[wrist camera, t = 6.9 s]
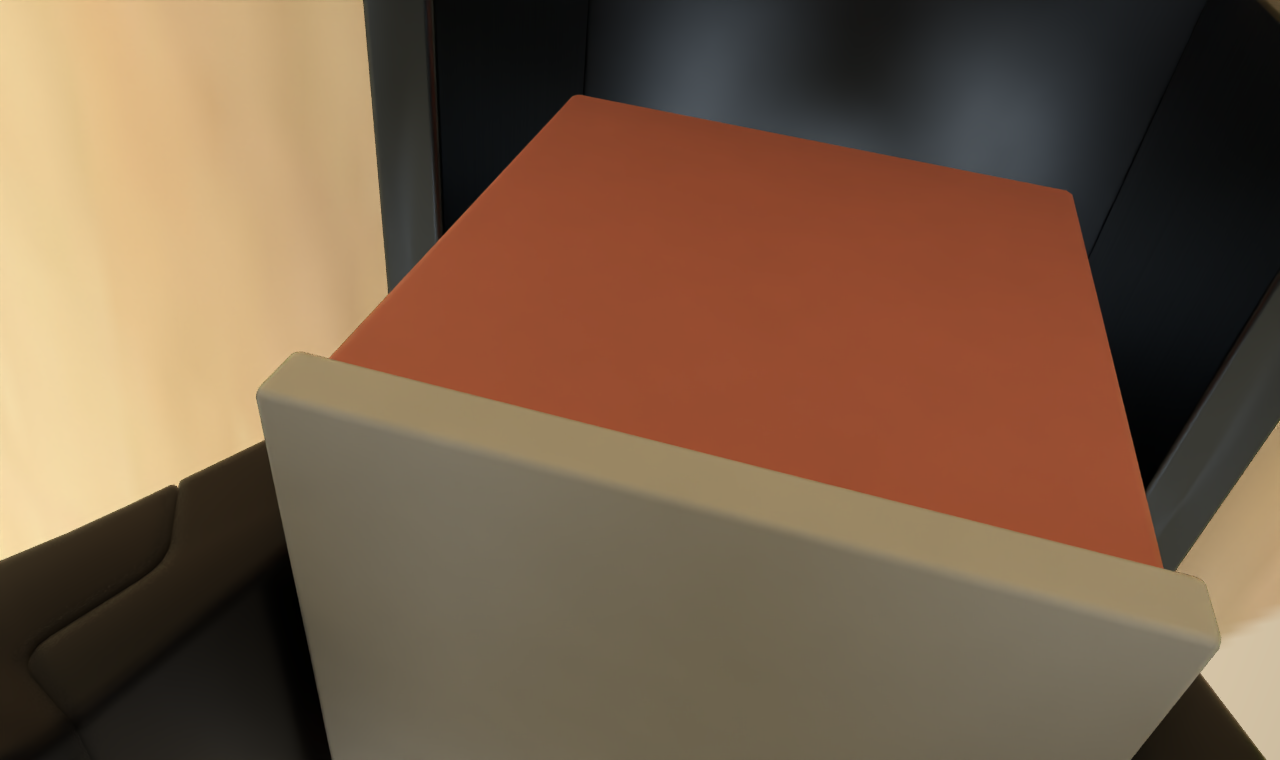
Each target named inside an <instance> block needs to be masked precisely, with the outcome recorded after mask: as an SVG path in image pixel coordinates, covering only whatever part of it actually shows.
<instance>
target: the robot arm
mask: <svg viewBox="0 0 1280 760" xmlns="http://www.w3.org/2000/svg"><path fill="white" fill-rule="evenodd" d="M0 760H332V759H331V754H330V749H329V744H328V740H327V735H326V730H325V725H324V720H323V716H322V711H321V706H320V701H319V696H318V692H317V687H316V682H315V677H314V672H313V668H312V663H311V658H310V653H309V648H308V644H307V639H306V634H305V629H304V624H303V620H302V615H301V610H300V605H299V600H298V596H297V591H296V586H295V581H294V576H293V572H292V567H291V562H290V557H289V553H288V548H287V543H286V538H285V533H284V529H283V524H282V519H281V514H280V509H279V505H278V500H277V495H276V490H275V485H274V481H273V476H272V471H271V466H270V461H269V457H268V452H267V447H266V442H265V440H264V441H262V442H260V443H258V444H255V445H253V446H251V447H249V448H247V449H245V450H243V451H241V452H239V453H237V454H235V455H233V456H231V457H228V458H226V459H224V460H222V461H220V462H218V463H216V464H214V465H212V466H210V467H208V468H206V469H204V470H201V471H199V472H197V473H195V474H193V475H191V476H189V477H187V478H185V479H183V480H181V481H180V483H179V486H178V487H177V486H175V485H170V486H168V487H165V488H163V489H161V490H159V491H157V492H155V493H153V494H151V495H149V496H147V497H145V498H143V499H140V500H138V501H136V502H134V503H132V504H130V505H128V506H126V507H123V508H121V509H119V510H117V511H115V512H112V513H110V514H108V515H106V516H104V517H102V518H99V519H97V520H95V521H93V522H91V523H88V524H86V525H84V526H82V527H80V528H77V529H75V530H73V531H71V532H69V533H66V534H64V535H62V536H59V537H57V538H54V539H52V540H49V541H47V542H45V543H42V544H40V545H37V546H35V547H33V548H30V549H28V550H25V551H23V552H21V553H18V554H16V555H13V556H11V557H8V558H6V559H4V560H1V561H0ZM1131 760H1266V759H1265V757H1264V756H1263V755H1262V754H1261V752H1260V751H1259V750H1258V748H1257V747H1256V746H1255V744H1254V743H1253V742H1252V740H1251V739H1250V738H1249V737H1248V735H1247V734H1246V733H1245V731H1244V730H1243V729H1242V727H1241V726H1240V725H1239V723H1238V722H1237V721H1236V719H1235V718H1234V717H1233V716H1232V714H1231V713H1230V712H1229V710H1228V709H1227V708H1226V706H1225V705H1224V704H1223V702H1222V701H1221V700H1220V699H1219V697H1218V696H1217V695H1216V693H1215V692H1214V691H1213V689H1212V688H1211V687H1210V685H1209V684H1208V683H1207V681H1206V680H1205V679H1204V677H1203V676H1202V675H1201V674H1200V673H1199V675H1198V676H1197V677H1196V678H1195V680H1194V681H1193V682H1192V683H1191V685H1190V686H1189V687H1188V688H1187V690H1186V691H1185V692H1184V694H1183V695H1182V696H1181V697H1180V699H1179V700H1178V701H1177V702H1176V704H1175V705H1174V706H1173V707H1172V709H1171V710H1170V711H1169V712H1168V714H1167V715H1166V716H1165V717H1164V719H1163V720H1162V721H1161V722H1160V724H1159V725H1158V726H1157V727H1156V729H1155V730H1154V731H1153V732H1152V734H1151V735H1150V736H1149V737H1148V739H1147V740H1146V741H1145V742H1144V744H1143V745H1142V746H1141V747H1140V749H1139V750H1138V751H1137V752H1136V754H1135V755H1134V756H1133V758H1132V759H1131Z"/></svg>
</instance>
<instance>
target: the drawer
mask: <svg viewBox="0 0 1280 760" xmlns="http://www.w3.org/2000/svg"><path fill="white" fill-rule="evenodd" d="M363 4H364V16H365V28H366V39H367V51H368V62H369V74H370V86H371V97H372V109H373V121H374V132H375V144H376V156H377V167H378V179H379V190H380V202H381V214H382V225H383V237H384V249H385V260H386V272H387V284H388V294H389V293H390V292H391V291H392V290H393V289H394V288H395V287H396V286H397V285H398V283H399V282H400V281H401V280H402V279H403V278H404V277H405V276H406V275H407V274H408V273H409V272H410V271H411V269H412V268H413V267H414V266H415V265H416V264H417V263H418V262H419V261H420V260H421V259H422V258H423V257H424V255H425V254H426V253H427V252H428V251H429V250H430V249H431V248H432V247H433V246H434V245H435V244H436V243H437V241H438V240H439V239H440V238H441V237H442V236H443V235H444V234H445V233H446V232H447V231H448V230H449V229H450V227H451V226H452V225H453V224H454V223H455V222H456V221H457V220H458V219H459V218H460V217H461V216H462V215H463V214H464V212H465V211H466V210H467V209H468V208H469V207H470V206H471V205H472V204H473V203H474V202H475V201H476V200H477V198H478V197H479V196H480V195H481V194H482V193H483V192H484V191H485V190H486V189H487V188H488V187H489V186H490V184H491V183H492V182H493V181H494V180H495V179H496V178H497V177H498V176H499V175H500V174H501V173H502V172H503V170H504V169H505V168H506V167H507V166H508V165H509V164H510V163H511V162H512V161H513V160H514V159H515V158H516V156H517V155H518V154H519V153H520V152H521V151H522V150H523V149H524V148H525V147H526V146H527V145H528V144H529V142H530V141H531V140H532V139H533V138H534V137H535V136H536V135H537V134H538V133H539V132H540V131H541V130H542V128H543V127H544V126H545V125H546V124H547V123H548V122H549V121H550V120H551V119H552V118H553V117H554V116H555V114H556V113H557V112H558V111H559V110H560V109H561V108H562V107H563V106H564V105H565V104H566V103H567V102H568V100H569V99H570V98H571V97H572V96H575V95H584V96H589V97H594V98H599V99H604V100H609V101H614V102H619V103H624V104H629V105H634V106H640V107H645V108H650V109H655V110H660V111H665V112H670V113H675V114H680V115H685V116H690V117H695V118H701V119H706V120H711V121H716V122H721V123H726V124H731V125H736V126H741V127H746V128H751V129H756V130H761V131H767V132H772V133H777V134H782V135H787V136H792V137H797V138H802V139H807V140H812V141H817V142H822V143H827V144H833V145H838V146H843V147H848V148H853V149H858V150H863V151H868V152H873V153H878V154H883V155H888V156H893V157H899V158H904V159H909V160H914V161H919V162H924V163H929V164H934V165H939V166H944V167H949V168H954V169H959V170H965V171H970V172H975V173H980V174H985V175H990V176H995V177H1000V178H1005V179H1010V180H1015V181H1020V182H1026V183H1031V184H1036V185H1041V186H1046V187H1051V188H1056V189H1061V190H1066V191H1068V192H1069V193H1071V194H1072V195H1073V199H1074V203H1075V208H1076V212H1077V216H1078V220H1079V224H1080V228H1081V232H1082V236H1083V240H1084V244H1085V248H1086V253H1087V257H1088V261H1089V265H1090V269H1091V273H1092V277H1093V281H1094V285H1095V289H1096V293H1097V298H1098V302H1099V306H1100V310H1101V314H1102V318H1103V322H1104V326H1105V330H1106V334H1107V339H1108V343H1109V347H1110V351H1111V355H1112V359H1113V363H1114V367H1115V371H1116V375H1117V379H1118V384H1119V388H1120V392H1121V396H1122V400H1123V404H1124V408H1125V412H1126V416H1127V420H1128V425H1129V429H1130V433H1131V437H1132V441H1133V445H1134V449H1135V453H1136V457H1137V461H1138V465H1139V470H1140V474H1141V478H1142V482H1143V486H1144V490H1145V494H1146V498H1147V502H1148V506H1149V510H1150V515H1151V519H1152V523H1153V527H1154V531H1155V535H1156V539H1157V543H1158V547H1159V551H1160V556H1161V560H1162V564H1163V568H1164V569H1166V570H1170V571H1174V572H1175V571H1176V569H1177V568H1178V566H1179V565H1180V563H1181V562H1182V560H1183V559H1184V558H1185V556H1186V555H1187V553H1188V552H1189V550H1190V549H1191V547H1192V546H1193V545H1194V543H1195V542H1196V540H1197V539H1198V537H1199V536H1200V534H1201V533H1202V532H1203V530H1204V529H1205V527H1206V526H1207V524H1208V523H1209V521H1210V520H1211V519H1212V517H1213V516H1214V514H1215V513H1216V511H1217V510H1218V509H1219V507H1220V506H1221V504H1222V503H1223V501H1224V500H1225V498H1226V497H1227V496H1228V494H1229V493H1230V491H1231V490H1232V488H1233V487H1234V485H1235V484H1236V483H1237V481H1238V480H1239V478H1240V477H1241V475H1242V474H1243V472H1244V471H1245V470H1246V468H1247V467H1248V465H1249V464H1250V462H1251V461H1252V459H1253V458H1254V457H1255V455H1256V454H1257V452H1258V451H1259V449H1260V448H1261V447H1262V445H1263V444H1264V442H1265V441H1266V439H1267V438H1268V436H1269V435H1270V434H1271V432H1272V431H1273V429H1274V428H1275V426H1276V425H1277V423H1278V422H1279V421H1280V0H363Z"/></svg>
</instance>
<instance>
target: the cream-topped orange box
mask: <svg viewBox="0 0 1280 760" xmlns="http://www.w3.org/2000/svg"><path fill="white" fill-rule="evenodd" d="M256 399H257V404H258V409H259V413H260V418H261V423H262V428H263V433H264V437H265V442H266V447H267V452H268V457H269V461H270V466H271V471H272V476H273V481H274V485H275V490H276V495H277V500H278V505H279V509H280V514H281V519H282V524H283V529H284V533H285V538H286V543H287V548H288V553H289V557H290V562H291V567H292V572H293V576H294V581H295V586H296V591H297V596H298V600H299V605H300V610H301V615H302V620H303V624H304V629H305V634H306V639H307V644H308V648H309V653H310V658H311V663H312V668H313V672H314V677H315V682H316V687H317V692H318V696H319V701H320V706H321V711H322V716H323V720H324V725H325V730H326V735H327V740H328V744H329V749H330V754H331V759H332V760H1131V759H1132V758H1133V756H1134V755H1135V754H1136V752H1137V751H1138V750H1139V749H1140V747H1141V746H1142V745H1143V744H1144V742H1145V741H1146V740H1147V739H1148V737H1149V736H1150V735H1151V734H1152V732H1153V731H1154V730H1155V729H1156V727H1157V726H1158V725H1159V724H1160V722H1161V721H1162V720H1163V719H1164V717H1165V716H1166V715H1167V714H1168V712H1169V711H1170V710H1171V709H1172V707H1173V706H1174V705H1175V704H1176V702H1177V701H1178V700H1179V699H1180V697H1181V696H1182V695H1183V694H1184V692H1185V691H1186V690H1187V688H1188V687H1189V686H1190V685H1191V683H1192V682H1193V681H1194V680H1195V678H1196V677H1197V676H1198V675H1199V673H1200V672H1201V671H1202V670H1203V668H1204V667H1205V666H1206V665H1207V663H1208V662H1209V661H1210V660H1211V658H1212V657H1213V656H1214V655H1215V653H1216V652H1217V651H1218V650H1219V647H1220V644H1221V636H1220V632H1219V629H1218V625H1217V622H1216V618H1215V615H1214V611H1213V608H1212V604H1211V601H1210V597H1209V594H1208V590H1207V587H1206V584H1205V583H1204V582H1203V581H1202V580H1200V579H1199V578H1197V577H1194V576H1190V575H1186V574H1182V573H1178V572H1174V571H1170V570H1166V569H1164V568H1163V564H1162V560H1161V556H1160V551H1159V547H1158V543H1157V539H1156V535H1155V531H1154V527H1153V523H1152V519H1151V515H1150V510H1149V506H1148V502H1147V498H1146V494H1145V490H1144V486H1143V482H1142V478H1141V474H1140V470H1139V465H1138V461H1137V457H1136V453H1135V449H1134V445H1133V441H1132V437H1131V433H1130V429H1129V425H1128V420H1127V416H1126V412H1125V408H1124V404H1123V400H1122V396H1121V392H1120V388H1119V384H1118V379H1117V375H1116V371H1115V367H1114V363H1113V359H1112V355H1111V351H1110V347H1109V343H1108V339H1107V334H1106V330H1105V326H1104V322H1103V318H1102V314H1101V310H1100V306H1099V302H1098V298H1097V293H1096V289H1095V285H1094V281H1093V277H1092V273H1091V269H1090V265H1089V261H1088V257H1087V253H1086V248H1085V244H1084V240H1083V236H1082V232H1081V228H1080V224H1079V220H1078V216H1077V212H1076V208H1075V203H1074V199H1073V195H1072V194H1071V193H1069V192H1068V191H1066V190H1061V189H1056V188H1051V187H1046V186H1041V185H1036V184H1031V183H1026V182H1020V181H1015V180H1010V179H1005V178H1000V177H995V176H990V175H985V174H980V173H975V172H970V171H965V170H959V169H954V168H949V167H944V166H939V165H934V164H929V163H924V162H919V161H914V160H909V159H904V158H899V157H893V156H888V155H883V154H878V153H873V152H868V151H863V150H858V149H853V148H848V147H843V146H838V145H833V144H827V143H822V142H817V141H812V140H807V139H802V138H797V137H792V136H787V135H782V134H777V133H772V132H767V131H761V130H756V129H751V128H746V127H741V126H736V125H731V124H726V123H721V122H716V121H711V120H706V119H701V118H695V117H690V116H685V115H680V114H675V113H670V112H665V111H660V110H655V109H650V108H645V107H640V106H634V105H629V104H624V103H619V102H614V101H609V100H604V99H599V98H594V97H589V96H584V95H575V96H572V97H571V98H570V99H569V100H568V102H567V103H566V104H565V105H564V106H563V107H562V108H561V109H560V110H559V111H558V112H557V113H556V114H555V116H554V117H553V118H552V119H551V120H550V121H549V122H548V123H547V124H546V125H545V126H544V127H543V128H542V130H541V131H540V132H539V133H538V134H537V135H536V136H535V137H534V138H533V139H532V140H531V141H530V142H529V144H528V145H527V146H526V147H525V148H524V149H523V150H522V151H521V152H520V153H519V154H518V155H517V156H516V158H515V159H514V160H513V161H512V162H511V163H510V164H509V165H508V166H507V167H506V168H505V169H504V170H503V172H502V173H501V174H500V175H499V176H498V177H497V178H496V179H495V180H494V181H493V182H492V183H491V184H490V186H489V187H488V188H487V189H486V190H485V191H484V192H483V193H482V194H481V195H480V196H479V197H478V198H477V200H476V201H475V202H474V203H473V204H472V205H471V206H470V207H469V208H468V209H467V210H466V211H465V212H464V214H463V215H462V216H461V217H460V218H459V219H458V220H457V221H456V222H455V223H454V224H453V225H452V226H451V227H450V229H449V230H448V231H447V232H446V233H445V234H444V235H443V236H442V237H441V238H440V239H439V240H438V241H437V243H436V244H435V245H434V246H433V247H432V248H431V249H430V250H429V251H428V252H427V253H426V254H425V255H424V257H423V258H422V259H421V260H420V261H419V262H418V263H417V264H416V265H415V266H414V267H413V268H412V269H411V271H410V272H409V273H408V274H407V275H406V276H405V277H404V278H403V279H402V280H401V281H400V282H399V283H398V285H397V286H396V287H395V288H394V289H393V290H392V291H391V292H390V293H389V294H388V295H387V296H386V297H385V299H384V300H383V301H382V302H381V303H380V304H379V305H378V306H377V307H376V308H375V309H374V310H373V311H372V313H371V314H370V315H369V316H368V317H367V318H366V319H365V320H364V321H363V322H362V323H361V324H360V325H359V327H358V328H357V329H356V330H355V331H354V332H353V333H352V334H351V335H350V336H349V337H348V338H347V339H346V341H345V342H344V343H343V344H342V345H341V346H340V347H339V348H338V349H337V350H336V351H335V352H334V353H333V355H332V356H331V357H330V358H325V357H321V356H317V355H313V354H309V353H305V352H295V353H293V354H291V355H290V356H289V357H288V358H287V359H286V360H285V361H284V362H283V363H282V364H281V365H280V366H279V367H278V368H277V370H276V371H275V372H274V373H273V374H272V375H271V376H270V377H269V378H268V379H267V380H266V381H265V382H264V383H263V384H262V385H261V386H260V387H259V388H258V391H257V394H256Z"/></svg>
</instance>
